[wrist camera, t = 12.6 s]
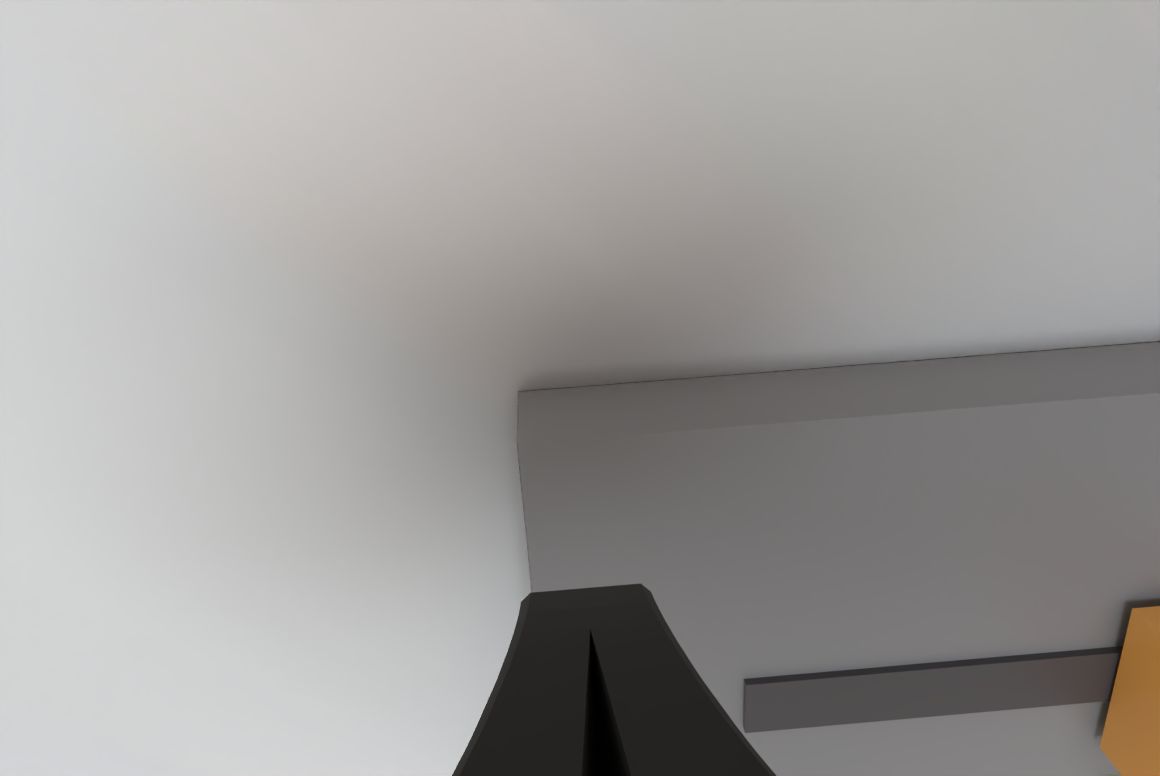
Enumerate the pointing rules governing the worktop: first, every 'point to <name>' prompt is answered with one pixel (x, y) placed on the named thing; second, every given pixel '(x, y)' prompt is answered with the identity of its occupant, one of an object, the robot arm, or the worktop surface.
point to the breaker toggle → (1136, 699)
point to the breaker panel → (873, 546)
